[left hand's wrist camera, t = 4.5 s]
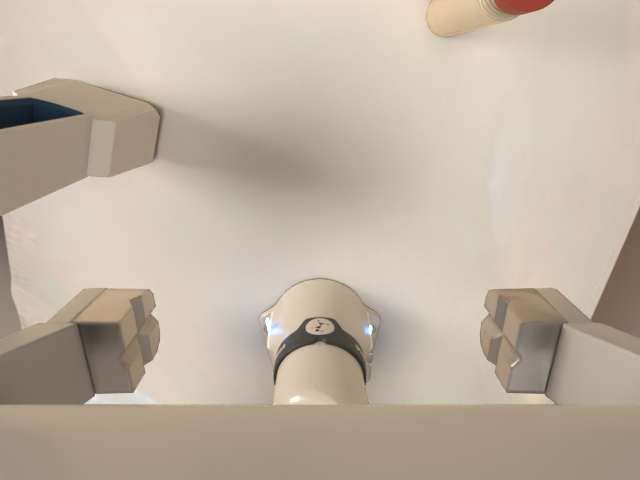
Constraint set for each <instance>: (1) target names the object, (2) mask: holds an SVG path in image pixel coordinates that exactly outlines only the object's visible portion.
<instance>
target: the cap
mask: <svg viewBox="0 0 640 480" xmlns="http://www.w3.org/2000/svg"><path fill="white" fill-rule="evenodd" d="M493 1H494V3H495V4H496V6H497V7H498V8H499V9H500V10H501V11H503V12H504V13H506V14H509V15H523V14H526V13H530V12H533V11H537V10H540V9H542V8H544V7H546V6H548V5H549V4H551V3H552V2H553V1H554V0H493Z"/></svg>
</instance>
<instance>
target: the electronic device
mask: <svg viewBox="0 0 640 480" xmlns="http://www.w3.org/2000/svg"><path fill="white" fill-rule="evenodd" d="M159 121H160V116H159V114H158V113H157V111H156V109H155V108H153V107H152V106H151V105H150V104H149V103H146V102H143V101H140V100H137V99H134V98H130V97H127V96H124V95H121V94H117V93H114V92H111V91H108V90H105V89H101V88H98V87H95V86H92V85H89V84H85V83H82V82H79V81H76V80H67V79H58V78H53V79H50V80H47V81H44V82H41V83H38V84H34V85H31V86H28V87H25V88H22V89H19V90H16V91H13V96H5V97H0V216H2V215H4V214H6V213H8V212H10V211H13V210H15V209H17V208H19V207H21V206H24V205H26V204H28V203H30V202H33V201H35V200H37V199H39V198H41V197H44V196H46V195H48V194H50V193H53V192H55V191H57V190H59V189H61V188H64V187H66V186H68V185H70V184H72V183H75V182H77V181H79V180H81V179H84V178H86V177H88V176H93V177H112V176H115V175H117V174H120V173H123V172H126V171H129V170H131V169H134V168H137V167H140V166H143V165H145V164H148V163H151V162H153V158H154V152H155V145H156V139H157V133H158V127H159Z"/></svg>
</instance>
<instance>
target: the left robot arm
mask: <svg viewBox="0 0 640 480" xmlns="http://www.w3.org/2000/svg"><path fill="white" fill-rule="evenodd" d="M155 306H156V304H155V300H154V295H153V293H152V292H151V290H150V289H108V288H90V289H83V290H82V291H81V292H80V293H79V294H78V295H77V296H75V297H74V298H73V299H72V300H71V301H70V302H69V303H68V304H67V305H65V306H64V307H63V308H62V309H61V310H60V311H59V312H58V313H57V314H56V315H54V316H53V317H52V318H51V319H50V320H49V321H48V322H47V323H38V324H36V325H33V326H31V327H28V328H26V329H23V330H20V331H18V332H15V333H13V334H10V335H8V336H5V337H3V338H0V480H640V338H637V337H634V336H632V335H630V334H627V333H625V332H622V331H619V330H617V329H614V328H612V327H609V326H607V325H604V324H602V323H593V322H592V321H591V320H590V319H589V318H588V317H587V316H586V315H585V314H583V313H582V312H581V311H580V310H579V309H578V308H577V307H576V306H575V305H574V304H572V303H571V302H570V301H569V300H568V299H567V298H566V297H565V296H564V295H562V294H561V293H560V292H559V291H558V290H557V289H553V288H538V289H534V288H526V289H493V290H489V291H488V293H487V295H486V299H485V304H484V306H485V308H486V309H487V311H488V312H489V315H488V316H487V317H486V318H485V319H484V320H483V321H482V322H481V330H480V340H481V347H482V350H483V353H484V355H485V357H486V358H487V360H488V361H490V362H492V363H493V364H495V365H496V368H495V374H496V376H497V377H498V379H499V381H500V382H501V384H502V386H503V387H504V389H505V391H506V392H507V393H535V394H545V396H547V397H548V398H549V399H551V400H552V401H553V402H555V403H556V404H557V405H369V403H368V399H367V394H366V389H365V384H366V381H369V380H370V377H371V367H370V366H368V363H371V362H372V360H373V354H372V353H371V352H372V349H373V346H374V342H375V339H376V335H377V332H378V329H379V325H380V316H379V315H378V314H377V313H376V312H375V311H373V310H371V309H370V308H368V307H366V306H365V305H364V304H363V303H362V301H361V300H360V298H359V297H358V296H357V294H356V293H355V292H353V291H352V290H351V289H350V288H348V287H347V286H345V285H343V284H341V283H339V282H336V281H332V280H327V279H314V280H308V281H304V282H301V283H299V284H297V285H295V286H293V287H292V288H290V289H289V290H288V291H287V292H285V293H284V295H283V296H282V297H281V298H280V300H279V301H278V303H277V304H276V305H275V306H274V307H272V308H270V309H269V310H267V311H266V312H264V313H263V314H262V315H261V316H260V325H261V329H262V332H263V335H264V339H265V342H266V346H267V349H268V352H269V356H270V359H271V363H272V366H273V371H274V384H275V391H274V398H273V405H83V404H84V403H85V402H87V401H88V400H90V399H91V398H92V397H94V396H95V394H105V393H134V391H135V389H136V387H137V386H138V384H139V382H140V381H141V379H142V377H143V376H144V374H145V368H144V365H145V364H147V363H148V362H150V361H152V360H153V358H154V357H155V355H156V353H157V350H158V346H159V341H160V329H159V322H158V321H157V320H156V319H155V318H154V317H153V316H152V315H151V312H152V311H153V309H154V308H155ZM372 326H373V327H372Z"/></svg>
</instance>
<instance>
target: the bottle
mask: <svg viewBox="0 0 640 480" xmlns="http://www.w3.org/2000/svg"><path fill="white" fill-rule="evenodd" d="M518 16H519V15H509V14H506V13H504V12H503V11H501V10H500V9H499V8H498V7H497V6H496V4H495V3H494V1H493V0H432V1H431V3H430V5H429V7H428V10H427V23H428V26H429V28H430V30H431V31H432V32H433V33H434V34H436V35H437V36H440V37H450V36H454V35H458V34H462V33H465V32H469V31H473V30H476V29H480V28H484V27H487V26H491V25H495V24H499V23H502V22H506V21H510V20H512V19H514V18H516V17H518Z"/></svg>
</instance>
